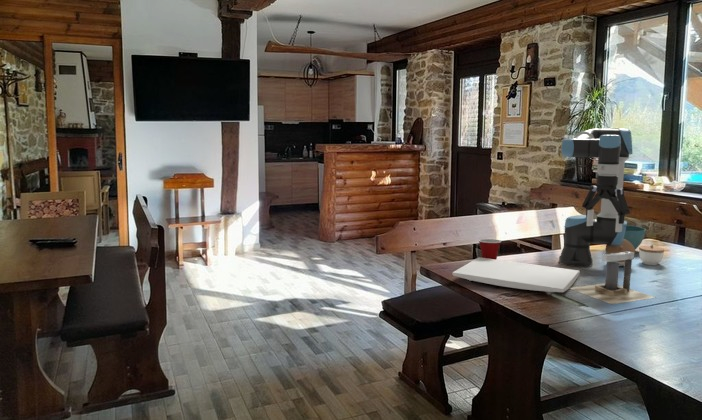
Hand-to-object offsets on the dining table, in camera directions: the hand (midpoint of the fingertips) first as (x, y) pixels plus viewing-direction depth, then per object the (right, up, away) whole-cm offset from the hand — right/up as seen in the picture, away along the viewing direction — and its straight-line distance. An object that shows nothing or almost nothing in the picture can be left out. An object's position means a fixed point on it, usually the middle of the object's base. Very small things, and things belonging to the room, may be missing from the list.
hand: (603, 228), depth 219 cm
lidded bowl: (+28, -16, +49) cm, 59 cm away
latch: (+5, -12, -2) cm, 13 cm away
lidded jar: (+45, -19, +50) cm, 70 cm away
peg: (+2, -25, -1) cm, 25 cm away
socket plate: (+2, -26, -1) cm, 27 cm away
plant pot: (+47, -14, +78) cm, 92 cm away
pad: (-14, -27, -5) cm, 31 cm away
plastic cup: (-33, -19, +49) cm, 62 cm away
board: (-29, -24, +20) cm, 42 cm away
